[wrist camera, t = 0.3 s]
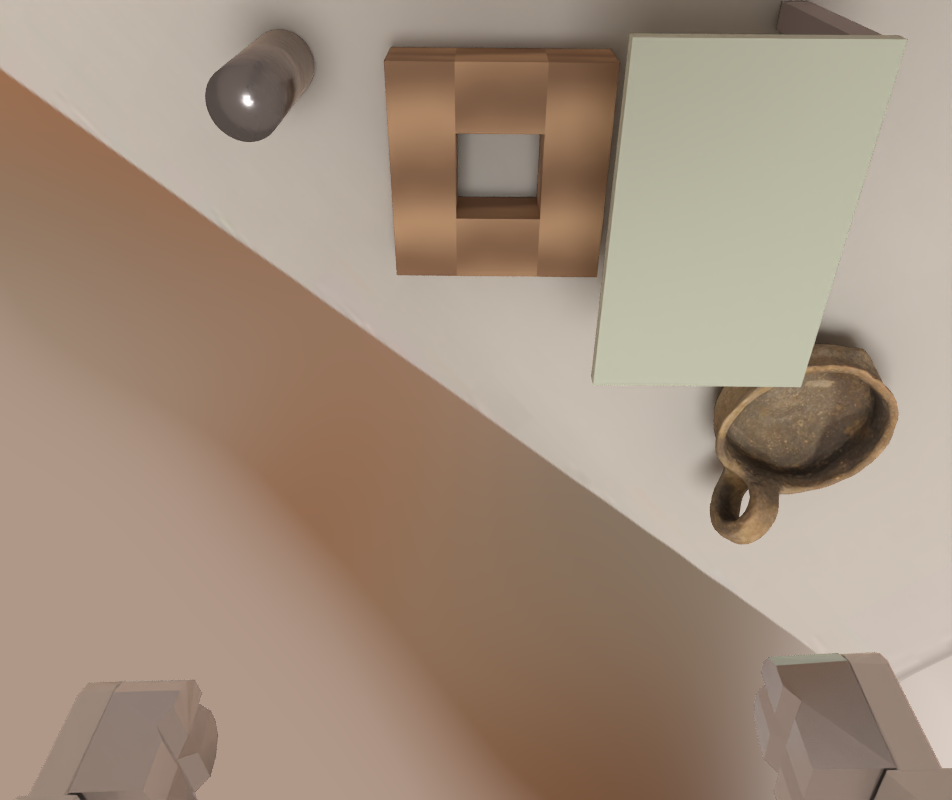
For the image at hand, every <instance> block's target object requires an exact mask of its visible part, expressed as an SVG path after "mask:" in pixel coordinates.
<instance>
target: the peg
mask: <svg viewBox="0 0 952 800" xmlns="http://www.w3.org/2000/svg"><path fill="white" fill-rule="evenodd" d="M313 75H314V59H313V56H312V53H311V51H310V49H309V47H308V46H307V44H306V43H305V42H304V41H303V39H301V38H300V37H299V36H298V35H296V34H295V33H293V32H290V31H288V30H283V29H274V30H270V31H267V32H266V33H264V34H263V35H261V36H260V37H259V38H258V39H256V40H255V41H254V42H253V43H251V44H250V45H249V46H248V47H246V48H245V49H244V50H243V51H241V52H240V53H239V54H238V55H236V56H235V57H234V58H233V59H231V60H230V61H229V62H228V63H227V64H225V65H224V66H223V67H222V68H220V69H219V70H218V71H217V72H215V73H214V74H213V76H212V77H211V78H210V80H209V82H208V84H207V88H206V93H205V99H206V106H207V109H208V112H209V114H210V116H211V118H212V120H213V121H214V123H215V124H216V125H217V127H218V128H219V129H220V130H221V131H223V132H224V133H225V134H227V135H228V136H230V137H232V138H234V139H237V140H240V141H244V142H255V141H259V140H262V139H264V138H266V137H267V136H269V135H270V134H271V133H272V132H273V131H274V130H275V128H276V127H277V126H278V125H279V123H280V122H281V121H282V119H283V118H284V117H285V115H286V114H287V113H288V112H289V110H290V109H291V108H292V106H293V105H294V104H295V102H296V101H297V100H298V99H299V97H300V96H301V95H302V93H303V92H304V91H305V89H306V88H307V87H308V85H309V84H310V83H311V81H312V78H313Z"/></svg>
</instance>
